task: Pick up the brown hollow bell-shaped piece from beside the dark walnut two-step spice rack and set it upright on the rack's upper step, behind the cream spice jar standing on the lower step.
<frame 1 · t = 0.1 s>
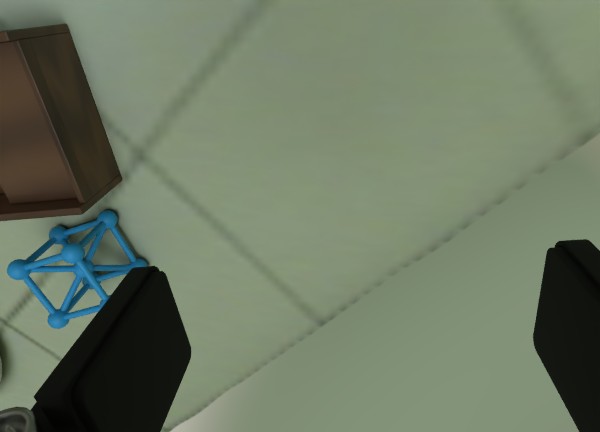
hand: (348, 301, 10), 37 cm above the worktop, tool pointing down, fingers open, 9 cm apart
spice rack: (33, 116, 48), on the worktop
molecular structure: (104, 245, 56), on the worktop
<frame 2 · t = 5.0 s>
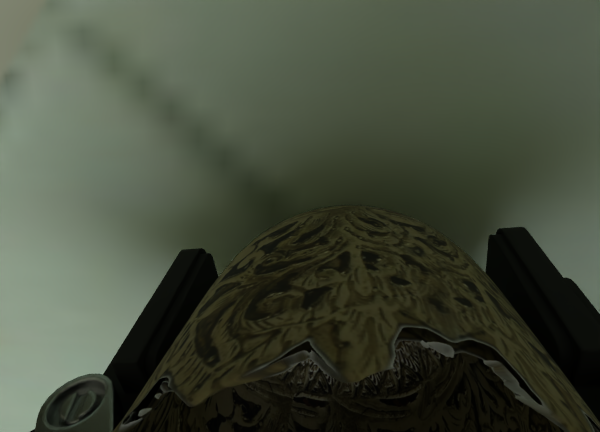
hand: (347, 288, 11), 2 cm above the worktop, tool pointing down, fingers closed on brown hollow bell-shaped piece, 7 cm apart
brown hollow bell-shaped piece: (347, 247, 13), on the worktop, touching gripper
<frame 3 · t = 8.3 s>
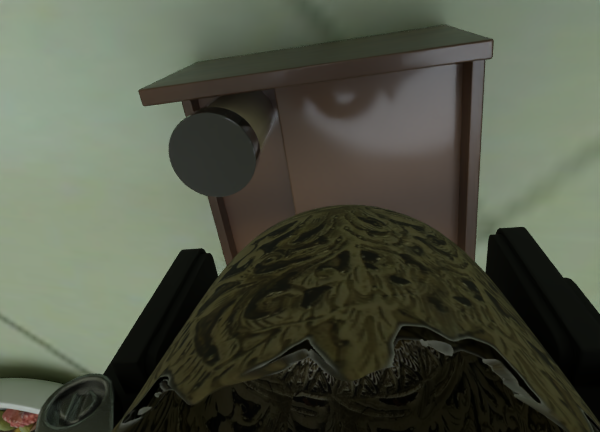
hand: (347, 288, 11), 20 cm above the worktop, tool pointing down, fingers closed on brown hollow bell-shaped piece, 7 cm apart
spice rack: (331, 172, 30), on the worktop
spice jar: (243, 117, 26), point 3 cm above the worktop, touching spice rack
brown hollow bell-shaped piece: (347, 246, 13), point 18 cm above the worktop, touching gripper
when the fingers open (8 cm above the worktop, at t = 11.9 s): brown hollow bell-shaped piece stays where it is, resting on spice rack.
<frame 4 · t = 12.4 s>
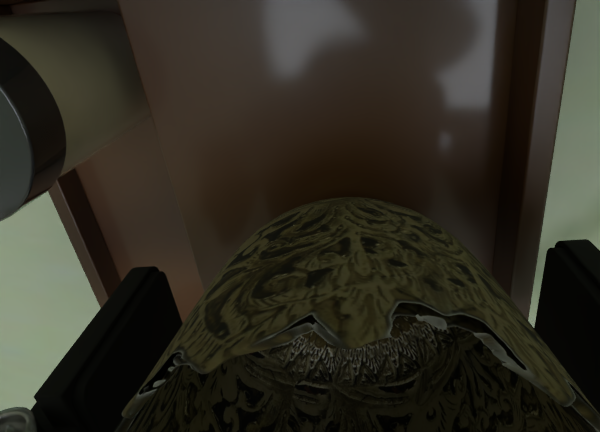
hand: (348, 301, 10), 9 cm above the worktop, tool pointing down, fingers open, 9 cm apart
spice rack: (278, 173, 19), on the worktop
spice jar: (107, 72, 15), point 3 cm above the worktop, touching spice rack
brown hollow bell-shaped piece: (347, 240, 13), point 6 cm above the worktop, touching spice rack
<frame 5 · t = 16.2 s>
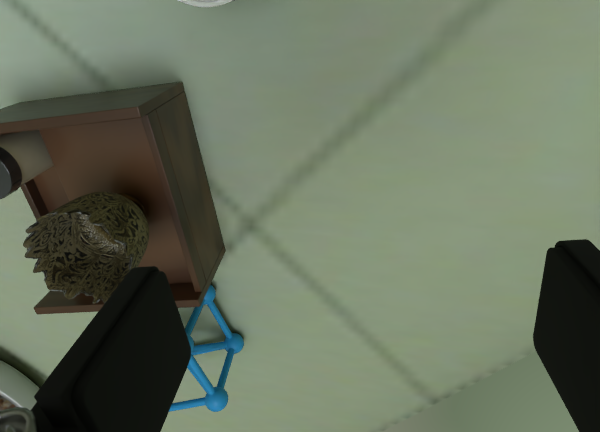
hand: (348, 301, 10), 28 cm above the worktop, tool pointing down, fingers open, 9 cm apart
spice rack: (129, 181, 42), on the worktop
molecular structure: (194, 318, 50), on the worktop
spice jar: (44, 143, 37), point 3 cm above the worktop, touching spice rack
brown hollow bell-shaped piece: (129, 208, 36), point 6 cm above the worktop, touching spice rack
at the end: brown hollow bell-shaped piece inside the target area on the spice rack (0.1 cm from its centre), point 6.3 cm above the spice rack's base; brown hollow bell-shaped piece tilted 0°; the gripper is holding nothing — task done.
